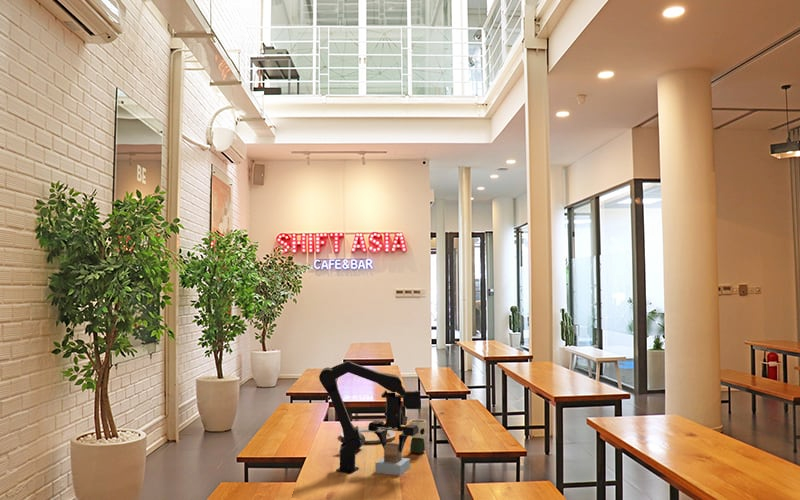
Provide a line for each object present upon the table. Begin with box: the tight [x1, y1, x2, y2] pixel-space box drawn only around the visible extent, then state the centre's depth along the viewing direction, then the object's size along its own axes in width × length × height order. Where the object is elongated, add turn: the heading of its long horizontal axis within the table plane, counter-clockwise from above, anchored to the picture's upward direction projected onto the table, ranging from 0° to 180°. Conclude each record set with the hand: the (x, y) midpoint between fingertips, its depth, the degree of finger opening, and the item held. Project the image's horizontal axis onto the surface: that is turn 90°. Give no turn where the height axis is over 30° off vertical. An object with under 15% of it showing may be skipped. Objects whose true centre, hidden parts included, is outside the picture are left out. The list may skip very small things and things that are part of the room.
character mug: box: [408, 418, 427, 454], centre depth 257 cm, size 11×7×13 cm, turn 155°
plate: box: [339, 426, 397, 444], centre depth 281 cm, size 26×26×2 cm
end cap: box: [340, 432, 366, 448], centre depth 259 cm, size 10×7×7 cm
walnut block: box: [383, 441, 403, 463], centre depth 233 cm, size 5×5×6 cm
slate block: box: [374, 456, 411, 477], centre depth 233 cm, size 10×10×4 cm
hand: (392, 451), depth 233 cm, fingers open, 6 cm apart
